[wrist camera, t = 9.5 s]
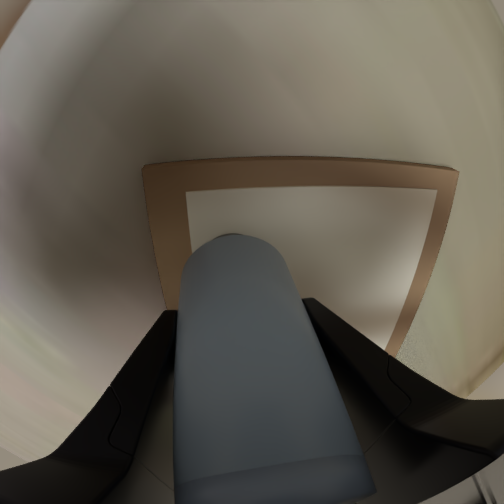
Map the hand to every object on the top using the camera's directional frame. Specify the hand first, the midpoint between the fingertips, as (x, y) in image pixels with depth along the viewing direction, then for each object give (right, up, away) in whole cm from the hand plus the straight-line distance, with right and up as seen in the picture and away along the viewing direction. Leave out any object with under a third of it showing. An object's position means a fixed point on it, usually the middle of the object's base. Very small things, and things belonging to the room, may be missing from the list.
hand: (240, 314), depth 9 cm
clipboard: (+3, -1, +6) cm, 7 cm away
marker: (0, +2, +2) cm, 3 cm away
